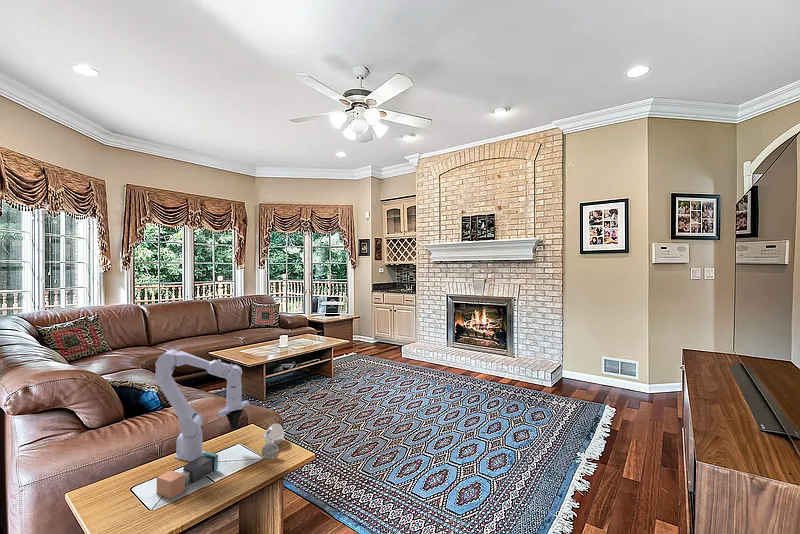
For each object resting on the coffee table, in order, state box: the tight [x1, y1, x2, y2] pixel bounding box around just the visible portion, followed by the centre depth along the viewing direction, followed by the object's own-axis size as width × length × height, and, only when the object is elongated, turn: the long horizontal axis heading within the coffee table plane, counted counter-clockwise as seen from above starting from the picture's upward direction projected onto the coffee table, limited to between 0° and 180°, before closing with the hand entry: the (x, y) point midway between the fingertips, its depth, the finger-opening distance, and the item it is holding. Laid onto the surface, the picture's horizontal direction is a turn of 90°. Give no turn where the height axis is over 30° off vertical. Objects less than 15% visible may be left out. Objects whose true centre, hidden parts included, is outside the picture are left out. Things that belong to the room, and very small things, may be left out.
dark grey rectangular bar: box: [182, 456, 213, 484], centre depth 138 cm, size 5×8×5 cm, turn 157°
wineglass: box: [261, 423, 285, 459], centre depth 160 cm, size 8×8×18 cm
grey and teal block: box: [180, 451, 219, 484], centre depth 136 cm, size 6×16×6 cm, turn 157°
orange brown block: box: [156, 469, 186, 499], centre depth 128 cm, size 7×5×6 cm
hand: (234, 428), depth 158 cm, fingers closed
